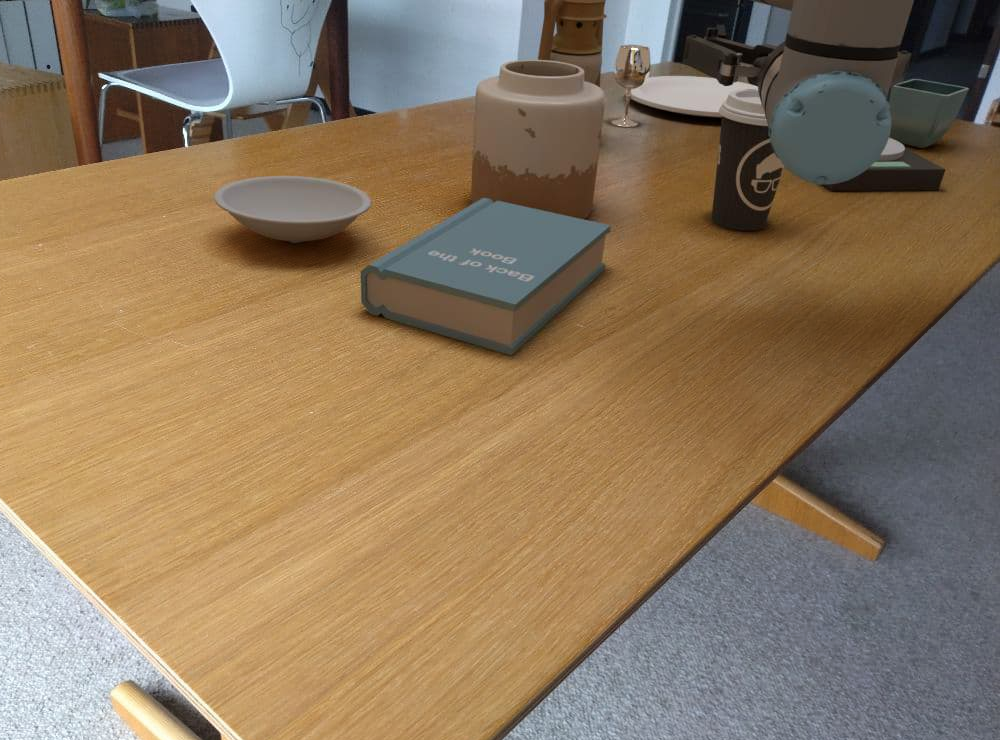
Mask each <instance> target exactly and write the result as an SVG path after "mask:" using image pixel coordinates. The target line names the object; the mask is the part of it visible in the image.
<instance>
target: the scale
mask: <svg viewBox="0 0 1000 740" xmlns="http://www.w3.org/2000/svg"><path fill="white" fill-rule="evenodd" d="M945 173H946V168H944V167H942V166H940V165H939V164H936V163H935V162H933V161H930V160H928V159H927V158H925V157H923V156H922V155H919V154H918V153H915V152H914V151H912V150H910V149H907V148H906V147H905V144H901V143H900V142H898V141H896V140H894V139H892V138H891V137H889V139H888V142H887V144H886V146H885V148H884V150H883V152H882V154H881V155H880V156H879V158H878V159H877V160H876V161H875V162H874V163H873V164H872V165H871V166H870V167H869V168H868V169H867V170H865V171H864V172H863V173H861V174H859V175H858V176H856V177H854V178H852V179H850V180H847V181H844V182H840V183H836V184H821V185H822V186H823V187H824V188H826V189H828V190H829V191H830V192H876V191H877V192H887V191H888V192H891V191H892V192H893V191H895V192H896V191H899V192H900V191H902V192H904V191H906V192H907V191H910V192H911V191H939V190H940V187H941V184H942V181H943V179H944V175H945Z"/></svg>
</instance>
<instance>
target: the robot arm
mask: <svg viewBox="0 0 1000 740" xmlns="http://www.w3.org/2000/svg"><path fill="white" fill-rule="evenodd" d="M749 1H751V2H754V3H759V4H763V5H768V6H771V7H774V8H778V9H782V10H785V11H789V12H790V17H789V20H788V25H787V30H786V31H787V32H786V35H785V40H784V41H783V42H781V43H780V44H778V45H773V44H770V43H767V44H757V45H755V46H753V45H751V44H750V45H749V44H746V43H742V42H738V41H734V40H730V39H727V32H726V25H725V24H716V26H715V27H707V28H706V34H705V36H704V37H703V38H702V37H700V36H697V35H696V34H690V35H687V36H686V39H685V45H684V52H683V56H682V57H683V58H682V64H683V65H685V66H688V67H689V68H691V69H693V70H695V71H698V72H700V73H702V74H704V75H706V76H708V77H710V78H715V79H717V80H718V82H719V83H720V84H722V85H723V86H731V85H733V82H738V80H739V78H746V79H747V82H748V84H751V85H754V86H757V87H758V92H759V97H760V100H761V104H762V107H763V110H764V113H765V117H766V120H767V124H768V127H769V133H768V135H769V137H770V140H769V141H770V143H771V145H772V150H773V152H774V154H775V155H776V156H777V158H779V159H780V160H781V162H782V164H783V165H784V169H786V170H787V171H788V172H789V173H790V174H791V175H793V176H794V177H795V178H797V179H800V180H801V181H803V182H807V183H810V184H815V185H817V186H819V185H822V184H836V183H840V182H844V181H847V180H850V179H852V178H854V177H856V176H858V175H859V174H861V173H863V172H864V171H865V170H867V169H868V168H869V167H870V166H871V165H872V164H873V163H874V162H875V161H876V160H877V159H878V158H879V156H880V155H881V154H882V152H883V150H884V148H885V146H886V144H887V142H888V139H889V138H890V137H891V135H890V131H891V116H890V110H889V109H890V105H889V102H890V101H889V100H888V98H887V97H888V93H889V91H890V89H892V87H893V86H895V85H897V84H899V83H902V82H904V80H905V77H906V73H907V70H908V67H909V63H910V60H911V56H912V53H911V52H910V51H907V50H901V51H900V48H901V45H902V40H903V38H904V34H905V31H906V28H907V24H908V22H909V18H910V15H911V12H912V9H913V8H912V7H913V5H914V1H915V0H749Z"/></svg>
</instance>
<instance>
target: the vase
mask: <svg viewBox="0 0 1000 740" xmlns="http://www.w3.org/2000/svg"><path fill="white" fill-rule="evenodd" d="M498 74H499V75H496V76H491V77H488V78H485V79H483V80H482V81H480V82H479V83H478V84H477V86H476V89H475V97H474V99H475V100H474V118H473V119H474V120H473V142H472V165H471V185H470V186H471V189H470V203H471V205H472V204H473V203H475V202H477V201H479V200H480V199H482V198H488V199H491V200H492V202H493V203H495V202H496V201H501V202H506V203H511V204H515V205H520V206H524V207H529V208H533V209H538V210H542V211H547V212H552V213H556V214H561V215H565V216H570V217H574V218H579V219H583V220H587V218H588V217H589V216H590V215H591V213H592V210H593V206H594V205H593V204H594V198H595V188H596V180H597V174H598V165H599V156H600V147H601V139H602V131H603V123H604V115H605V107H606V93H605V91H604V90H603V89H602V88H601V86H600V87H598V86H596V85H594V84H592V83H589V82H586V81H584V70H583V69H582V68H581V67H578V66H576V65H573V64H569V63H564V62H557V61H548V60H538V59H521V60H519V59H518V60H511V61H507V62H505V63H503V64H501V66H500V68H499V73H498Z"/></svg>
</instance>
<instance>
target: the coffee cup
mask: <svg viewBox="0 0 1000 740" xmlns="http://www.w3.org/2000/svg"><path fill="white" fill-rule="evenodd" d="M719 113H720V114H721V115H722V118H721V124H720V133H719V142H718V153H717V160H716V161H717V162H716V170H715V171H716V172H715V179H714V181H715V182H714V190H713V199H712V209H711V221H712V222H713V223H714V224H716V226H719V227H721V228H724V229H728V230H733V231H739V232H755V231H759V230H762V229H763V228H765V227H766V223H767V221H768V217H769V215H770V211H771V209H772V206H773V202H774V199H775V196H776V193H777V191H778V187H779V184H780V181H781V179H782V174H783V171H784V169H785V166H784V165H783V164H782V162H781V160H780V159H779V158H777V156H776V155H775V154H774V152H773V150H772V145H771V143H770V141H769V140H770V137H769V135H768V133H769V127H768V124H767V120H766V117H765V113H764V110H763V107H762V104H761V100H760V97H759V92H758V89H741V90H735V91H732V92H730V94H729V96H728V98H727V100H725V101H724V102H723V104H722V105H721V107H720V109H719Z"/></svg>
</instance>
